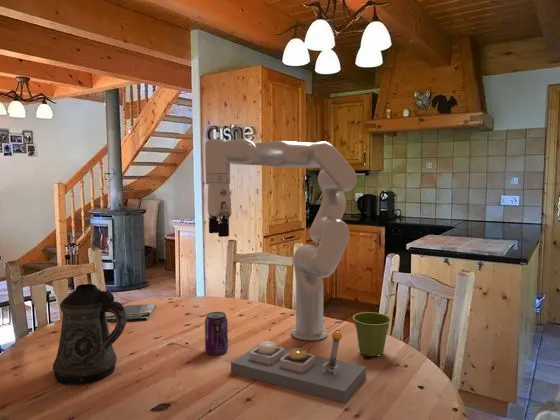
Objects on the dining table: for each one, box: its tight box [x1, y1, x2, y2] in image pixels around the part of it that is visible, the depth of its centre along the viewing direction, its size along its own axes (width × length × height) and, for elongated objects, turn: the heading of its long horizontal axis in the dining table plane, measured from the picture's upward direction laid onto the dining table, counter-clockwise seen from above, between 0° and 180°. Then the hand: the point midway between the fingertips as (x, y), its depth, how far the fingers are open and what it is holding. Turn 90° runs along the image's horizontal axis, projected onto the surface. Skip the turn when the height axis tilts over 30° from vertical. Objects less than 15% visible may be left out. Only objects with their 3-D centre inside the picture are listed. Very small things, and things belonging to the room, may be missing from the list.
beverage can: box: [204, 311, 229, 356], centre depth 138 cm, size 7×7×12 cm
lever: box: [329, 330, 342, 370], centre depth 118 cm, size 3×3×10 cm
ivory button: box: [257, 340, 277, 355], centre depth 126 cm, size 5×5×2 cm
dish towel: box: [106, 303, 157, 323], centre depth 177 cm, size 19×18×3 cm
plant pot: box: [352, 311, 392, 357], centre depth 137 cm, size 12×12×11 cm
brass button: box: [288, 347, 308, 362], centre depth 121 cm, size 5×5×2 cm
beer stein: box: [52, 283, 127, 386], centre depth 123 cm, size 16×19×25 cm
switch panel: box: [230, 345, 367, 404], centre depth 122 cm, size 16×34×5 cm, turn 60°
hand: (218, 234), depth 136 cm, fingers open, 9 cm apart
